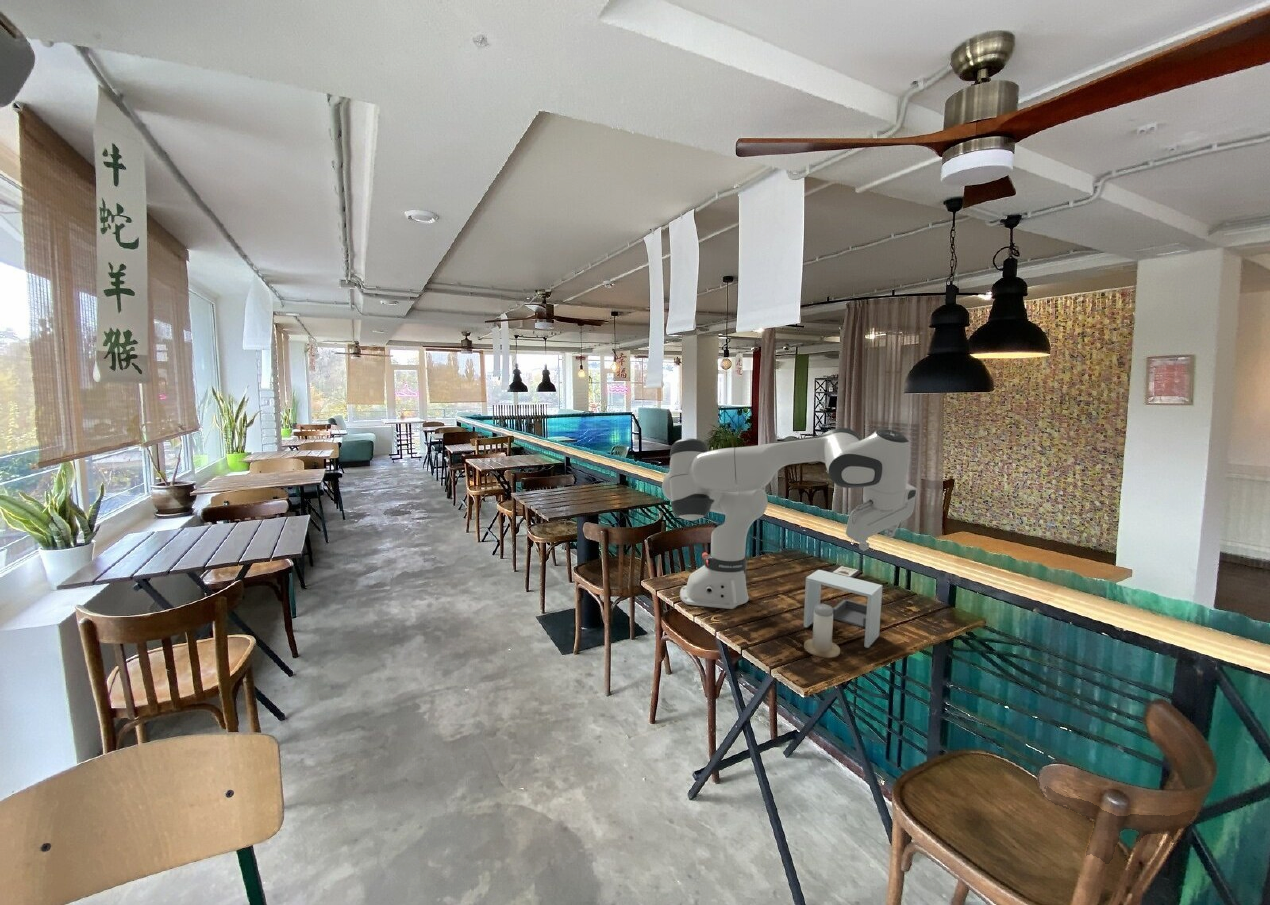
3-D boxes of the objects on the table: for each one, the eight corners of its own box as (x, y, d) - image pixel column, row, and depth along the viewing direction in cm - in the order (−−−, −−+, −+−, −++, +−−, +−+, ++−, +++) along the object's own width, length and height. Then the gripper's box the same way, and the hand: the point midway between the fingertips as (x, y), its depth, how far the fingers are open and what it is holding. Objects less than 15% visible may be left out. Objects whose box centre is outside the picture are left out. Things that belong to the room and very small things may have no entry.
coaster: (809, 657, 131) (809, 655, 131) (799, 640, 140) (799, 638, 140) (845, 658, 131) (845, 656, 130) (832, 640, 139) (833, 638, 139)
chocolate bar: (819, 578, 184) (837, 565, 198) (819, 580, 185) (837, 567, 198) (844, 584, 178) (862, 570, 192) (844, 587, 179) (861, 573, 192)
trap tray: (866, 628, 147) (867, 619, 146) (831, 618, 153) (832, 608, 153) (877, 617, 154) (878, 608, 154) (844, 607, 161) (844, 598, 160)
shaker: (815, 651, 133) (817, 611, 131) (809, 642, 138) (811, 603, 136) (834, 651, 133) (836, 611, 131) (827, 642, 137) (830, 603, 136)
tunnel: (868, 647, 136) (871, 594, 134) (803, 626, 148) (805, 577, 146) (879, 635, 142) (882, 585, 141) (816, 616, 154) (818, 569, 153)
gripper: (864, 514, 115) (858, 563, 121) (922, 487, 124) (914, 534, 129) (842, 502, 120) (837, 550, 126) (899, 477, 129) (892, 523, 134)
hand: (876, 542), depth 128 cm, fingers open, 8 cm apart
